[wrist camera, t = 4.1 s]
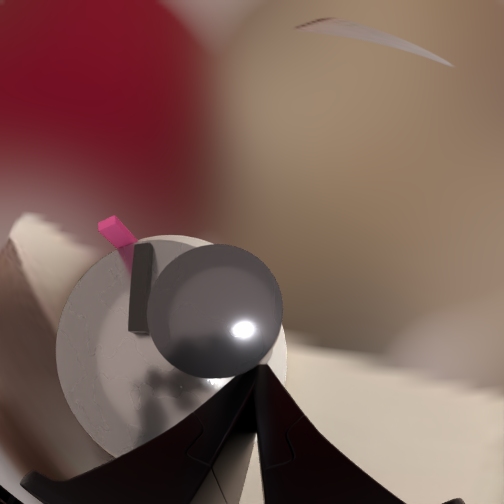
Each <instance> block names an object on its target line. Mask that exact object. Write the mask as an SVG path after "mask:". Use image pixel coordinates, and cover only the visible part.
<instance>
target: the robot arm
mask: <svg viewBox="0 0 504 504" xmlns="http://www.w3.org/2000/svg"><path fill="white" fill-rule="evenodd" d="M256 433H257V443H258V453H259V463H260V472H261V482H262V491H263V500H264V504H406V503H405V502H403V501H402V500H400V499H399V498H398V497H396V496H395V495H394V494H392V493H391V492H390V491H388V490H387V489H386V488H384V487H383V486H382V485H381V484H379V483H378V482H377V481H375V480H374V479H373V478H372V477H370V476H369V475H368V474H367V473H365V472H364V471H363V470H362V469H361V468H359V467H358V466H357V465H356V464H355V463H353V462H352V461H351V460H350V459H349V458H348V457H346V456H345V455H344V454H343V453H342V452H341V451H339V450H338V449H337V448H336V447H335V446H334V445H333V444H331V443H330V442H329V441H328V440H327V439H326V438H325V437H324V436H323V435H322V434H321V433H320V432H319V431H318V430H317V429H316V427H315V426H314V425H313V424H312V423H311V422H310V420H309V419H308V418H307V416H306V415H305V414H304V413H303V411H302V410H301V409H300V408H299V406H298V405H297V404H296V402H295V401H294V399H293V398H292V397H291V395H290V394H289V393H288V391H287V390H286V389H285V387H284V386H283V385H282V383H281V382H280V380H279V379H278V378H277V376H276V375H275V373H274V372H273V371H272V369H271V368H270V366H269V365H268V364H259V365H257V366H256V367H255V368H253V369H251V370H250V371H248V372H246V373H243V374H241V375H238V376H235V377H234V378H232V379H231V380H230V381H229V382H228V383H227V384H226V385H224V386H223V387H222V388H221V389H220V390H219V391H217V392H216V393H215V394H214V395H213V396H212V397H210V398H209V399H208V400H207V401H206V402H204V403H203V404H202V405H201V406H200V407H198V408H197V409H196V410H195V411H194V412H192V413H190V414H189V415H188V416H187V417H185V418H184V419H183V420H181V421H180V422H178V423H177V424H176V425H174V426H173V427H171V428H170V429H168V430H166V431H165V432H163V433H162V434H160V435H158V436H156V437H155V438H153V439H151V440H149V441H148V442H146V443H144V444H142V445H140V446H138V447H137V448H135V449H133V450H131V451H129V452H127V453H125V454H123V455H121V456H119V457H117V458H115V459H113V460H111V461H109V462H107V463H105V464H103V465H101V466H98V467H96V468H94V469H92V470H90V471H87V472H85V473H83V474H81V475H78V476H76V477H73V478H71V479H68V480H65V481H56V480H53V479H50V478H49V477H47V476H45V475H44V474H42V473H40V472H38V471H36V470H31V471H30V472H29V473H28V474H27V475H25V477H24V478H23V479H22V481H21V482H20V485H21V486H22V487H23V488H24V489H25V490H27V491H28V492H29V493H30V494H32V495H33V496H34V497H35V498H37V499H38V500H39V501H41V502H42V503H43V504H239V501H240V497H241V494H242V490H243V486H244V482H245V478H246V474H247V470H248V466H249V462H250V458H251V454H252V450H253V445H254V441H255V437H256ZM0 504H23V503H22V502H21V501H20V500H18V499H17V498H16V497H14V496H13V495H12V494H11V493H9V492H8V491H7V490H6V489H4V488H3V487H2V486H1V485H0ZM442 504H465V503H464V501H463V500H462V499H461V498H456V499H452V500H450V501H447V502H445V503H442Z"/></svg>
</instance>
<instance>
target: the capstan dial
mask: <svg viewBox="0 0 504 504" xmlns="http://www.w3.org/2000/svg"><path fill="white" fill-rule="evenodd" d="M282 316H283V302H282V296H281V292H280V289H279V285H278V283H277V281H276V279H275V277H274V275H273V274H272V273H271V271H270V269H269V268H268V267H267V266H266V265H265V264H264V263H263V262H262V261H261V260H260V259H259V258H258V257H256V256H254V255H253V254H251V253H250V252H248V251H246V250H244V249H241V248H238V247H235V246H230V245H223V244H211V245H204V246H200V247H195V246H192V245H189V244H186V243H182V242H177V241H172V240H147V241H142V242H136V243H133V244H130V245H127V246H124V247H121V248H119V249H117V250H115V251H113V252H111V253H110V254H108V255H106V256H105V257H103V258H102V259H100V260H99V261H98V262H97V263H96V264H94V265H93V266H92V267H91V268H90V269H89V270H88V271H87V272H86V273H85V274H84V275H83V276H82V278H81V279H80V280H79V282H78V283H77V284H76V286H75V287H74V289H73V291H72V292H71V294H70V296H69V298H68V300H67V302H66V304H65V306H64V309H63V312H62V315H61V318H60V322H59V326H58V331H57V339H56V363H57V371H58V376H59V380H60V384H61V387H62V390H63V393H64V396H65V398H66V400H67V403H68V405H69V407H70V409H71V410H72V412H73V414H74V415H75V417H76V418H77V420H78V421H79V423H80V424H81V425H82V426H83V428H84V429H85V430H86V431H87V432H88V433H89V434H90V435H91V436H92V437H93V438H94V439H95V440H96V441H97V442H98V443H99V444H101V445H102V446H103V447H105V448H106V449H107V450H109V451H111V452H112V453H114V454H116V455H118V456H121V455H123V454H125V453H127V452H129V451H131V450H133V449H135V448H137V447H138V446H140V445H142V444H144V443H146V442H148V441H149V440H151V439H153V438H155V437H156V436H158V435H160V434H162V433H163V432H165V431H166V430H168V429H170V428H171V427H173V426H174V425H176V424H177V423H178V422H180V421H181V420H183V419H184V418H185V417H187V416H188V415H189V414H190V413H192V412H194V411H195V410H196V409H197V408H198V407H200V406H201V405H202V404H203V403H204V402H206V401H207V400H208V399H209V398H210V397H212V396H213V395H214V394H215V393H216V392H217V391H219V390H220V389H221V388H222V387H223V386H224V385H226V384H227V383H228V382H229V381H230V380H231V379H232V378H234V377H235V376H238V375H241V374H243V373H246V372H248V371H250V370H251V369H253V368H255V367H256V366H257V365H259V364H267V363H268V361H269V360H270V358H271V356H272V353H273V347H274V346H275V344H276V342H277V339H278V337H279V334H280V330H281V326H282Z"/></svg>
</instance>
